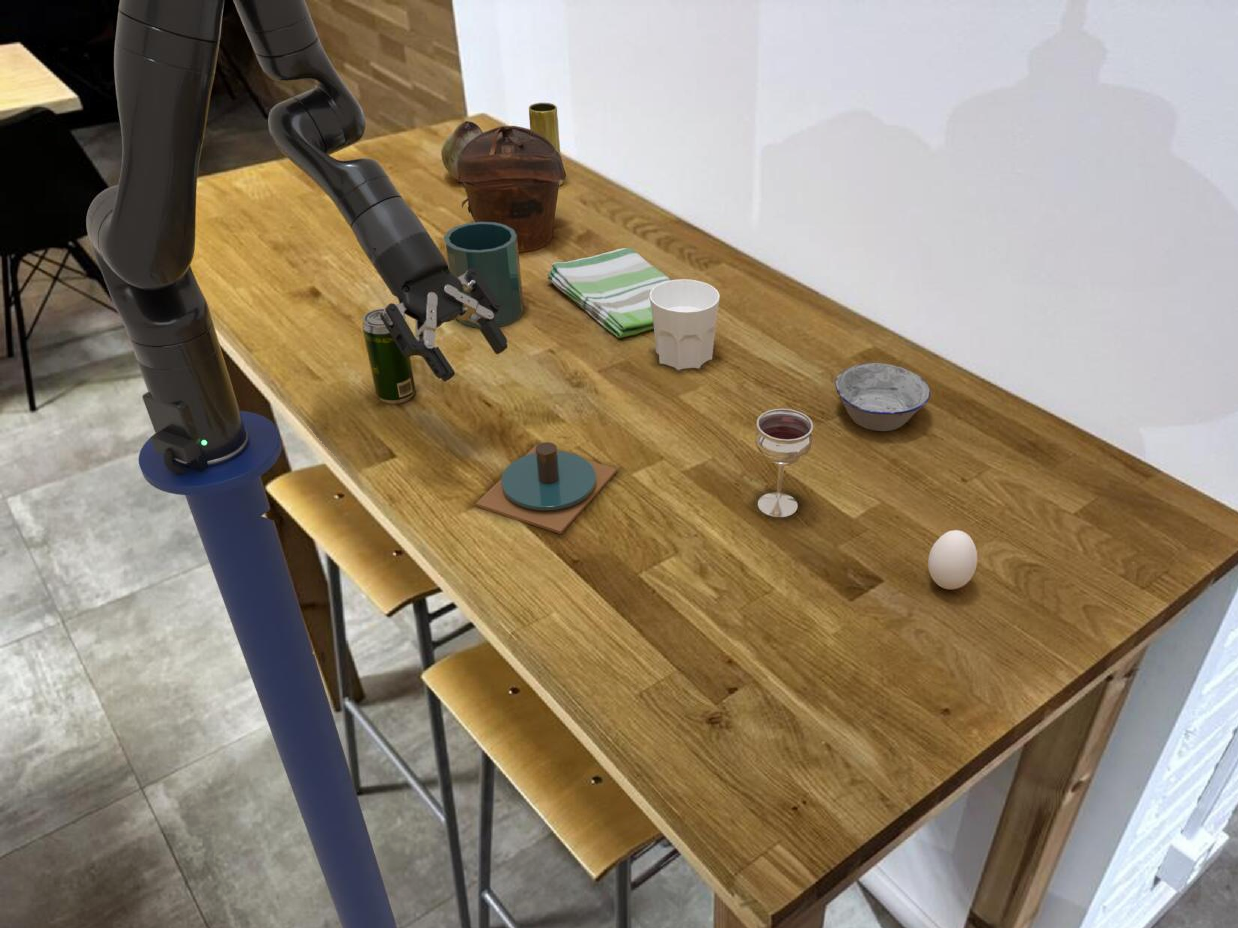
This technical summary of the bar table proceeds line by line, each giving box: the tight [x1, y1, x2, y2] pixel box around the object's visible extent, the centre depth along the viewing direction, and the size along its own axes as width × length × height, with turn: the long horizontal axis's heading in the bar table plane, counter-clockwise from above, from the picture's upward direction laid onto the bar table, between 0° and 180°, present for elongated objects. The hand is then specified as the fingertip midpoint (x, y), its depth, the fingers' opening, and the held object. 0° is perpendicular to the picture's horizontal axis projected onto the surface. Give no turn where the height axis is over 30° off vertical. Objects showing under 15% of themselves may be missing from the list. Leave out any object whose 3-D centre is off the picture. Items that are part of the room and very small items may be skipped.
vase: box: [528, 102, 565, 187], centre depth 204 cm, size 6×6×14 cm
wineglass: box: [754, 408, 814, 518], centre depth 129 cm, size 7×7×12 cm
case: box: [457, 125, 567, 253], centre depth 183 cm, size 18×20×18 cm
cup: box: [650, 278, 721, 371], centre depth 157 cm, size 10×10×10 cm
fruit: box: [440, 120, 484, 183], centre depth 205 cm, size 10×9×12 cm
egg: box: [927, 529, 978, 590], centre depth 121 cm, size 5×5×8 cm
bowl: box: [834, 362, 931, 432], centre depth 148 cm, size 13×13×5 cm
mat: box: [475, 444, 618, 535], centre depth 134 cm, size 14×12×1 cm
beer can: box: [361, 307, 416, 405], centre depth 146 cm, size 5×5×12 cm
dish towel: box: [547, 247, 672, 339], centre depth 172 cm, size 17×23×4 cm
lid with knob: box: [501, 441, 596, 510], centre depth 132 cm, size 12×12×6 cm
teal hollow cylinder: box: [443, 221, 524, 329], centre depth 164 cm, size 11×11×12 cm
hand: (477, 364), depth 129 cm, fingers open, 8 cm apart
